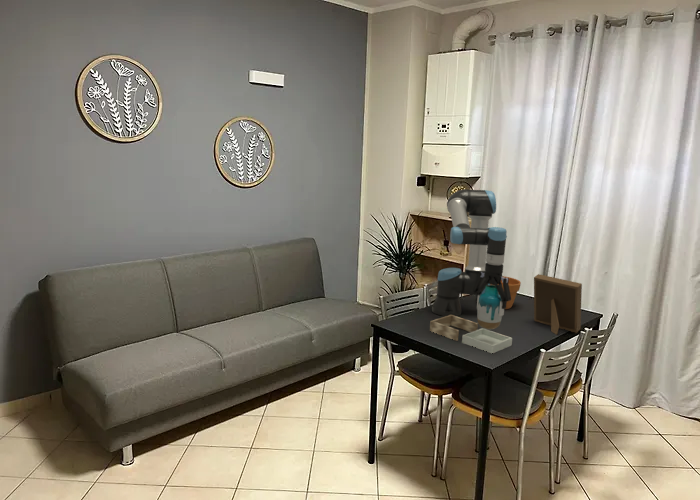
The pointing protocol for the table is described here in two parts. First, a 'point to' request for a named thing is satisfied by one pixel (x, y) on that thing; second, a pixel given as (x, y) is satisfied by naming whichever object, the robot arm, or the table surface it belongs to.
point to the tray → (487, 340)
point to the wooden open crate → (443, 325)
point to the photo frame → (557, 303)
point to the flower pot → (512, 290)
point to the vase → (489, 308)
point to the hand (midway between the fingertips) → (489, 312)
